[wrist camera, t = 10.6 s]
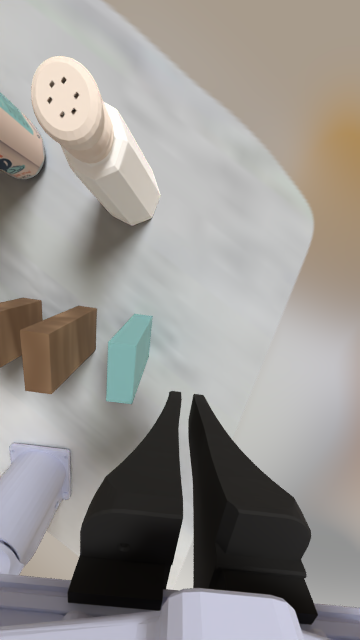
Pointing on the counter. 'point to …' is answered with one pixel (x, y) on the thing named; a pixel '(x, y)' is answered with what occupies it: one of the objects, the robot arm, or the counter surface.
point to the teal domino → (128, 358)
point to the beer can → (19, 143)
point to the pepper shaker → (94, 139)
